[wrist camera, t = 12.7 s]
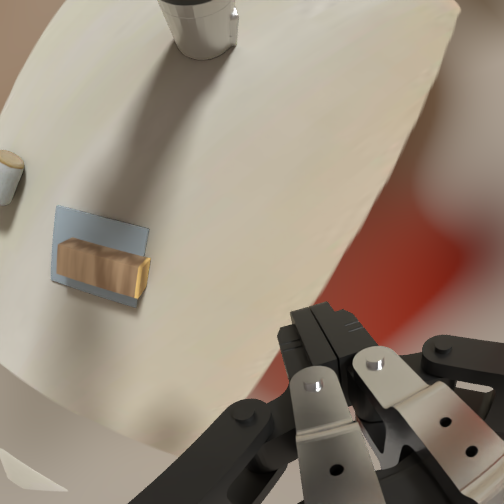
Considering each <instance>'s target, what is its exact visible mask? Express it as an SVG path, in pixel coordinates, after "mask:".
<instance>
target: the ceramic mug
mask: <svg viewBox="0 0 504 504" xmlns="http://www.w3.org/2000/svg"><path fill="white" fill-rule="evenodd" d="M23 170H24V162H23V160H22V159H21V158H20V157H19V156H17V155H16V154H14V153H12V152H10V151H6V150H0V205H1V206H4V205H8V204H10V203H11V201H12V198H13V195H14V193H15V190H16V188H17V185H18V182H19V180H20V178H21V175H22V173H23Z"/></svg>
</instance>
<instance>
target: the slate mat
mask: <svg viewBox="0 0 504 504" xmlns="http://www.w3.org/2000/svg"><path fill="white" fill-rule="evenodd" d="M148 233H149V229H148V228H144V227H140V226H136V225H132V224H129V223H125V222H121V221H117V220H113V219H109V218H105V217H101V216H98V215H94V214H90V213H86V212H82V211H78V210H74V209H71V208H67V207H63V206H59V205H57V206H56V213H55V221H54V231H53V244H52V262H51V280H53V281H55V282H58V283H61V284H64V285H67V286H69V287H72V288H75V289H78V290H81V291H84V292H87V293H90V294H93V295H96V296H99V297H102V298H105V299H108V300H112V301H115V302H118V303H121V304H125V305H128V306H131V307H135V308H136V307H137V301H138V299H137V298H133V297H130V296H126V295H123V294H119V293H116V292H112V291H109V290H106V289H102V288H99V287H96V286H93V285H89V284H86V283H83V282H80V281H77V280H74V279H71V278H68V277H65V276H62V275H59V274H56V269H57V247H58V244H59V243H61V242H63V241H65V240H68V239H70V238H72V237H73V238H77V239H80V240H84V241H87V242H91V243H95V244H98V245H102V246H106V247H109V248H113V249H117V250H120V251H124V252H128V253H132V254H136V255H139V256H143V257H144V255H145V249H146V244H147V239H148Z"/></svg>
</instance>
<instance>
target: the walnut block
mask: <svg viewBox="0 0 504 504" xmlns="http://www.w3.org/2000/svg"><path fill="white" fill-rule="evenodd" d="M150 260H151V258H147V257H143V256H139V255H136V254H132V253H128V252H124V251H120V250H117V249H113V248H109V247H106V246H102V245H98V244H95V243H91V242H87V241H84V240H80V239H77V238H73V237H72V238H70V239H68V240H65V241H63V242H61V243H59V244H58V247H57V269H56V274H59V275H62V276H65V277H68V278H71V279H74V280H77V281H80V282H83V283H86V284H89V285H93V286H96V287H99V288H102V289H106V290H109V291H112V292H116V293H119V294H123V295H126V296H130V297H133V298H137V299H138V298H139V297H140V295H141V294H142V292H143V291H144V289H145V288H146V285H147V279H148V272H149V266H150Z"/></svg>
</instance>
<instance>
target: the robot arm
mask: <svg viewBox="0 0 504 504" xmlns="http://www.w3.org/2000/svg"><path fill="white" fill-rule="evenodd" d="M158 3H159V5H160V7H161V10H162V12H163V14H164V17H165V19H166V21H167V24H168V26H169V28H170V31H171V33H172V35H173V37H174V40H175V43H176V45H177V47H178V49H179V50H180V51H181V53H183V54H184V55H185V56H187V57H189V58H192V59H196V60H207V59H211V58H215V57H217V56H219V55H221V54H222V53H224V52H225V51H226V50H227V49H228V48H229V47H231V46H235V45H237V35H238V20H239V16H238V13H237V10H236V7H235V0H158ZM290 316H291V320H292V325H288V326H284V327H281V328H280V330H279V333H278V335H277V338H278V341H279V345H280V349H281V353H282V357H283V361H284V365H285V369H286V372H287V375H288V379H289V385H288V388H287V389H286V391H285V392H284V393H283V394H282V395H281V396H280V397H278V398H276V399H275V400H273V401H271V402H269V403H267V404H266V403H265V402H263V401H261V400H258V399H244V400H240V401H237V402H235V403H233V404H232V405H230V406H229V407H228V408H227V409H226V410H225V411H224V412H223V413H222V414H221V415H220V416H219V417H218V418H217V419H216V420H215V421H214V422H213V423H212V424H211V425H210V427H209V428H208V429H207V430H206V431H205V432H204V433H203V434H202V435H201V436H200V437H199V438H198V439H197V440H196V441H195V442H194V443H193V444H192V445H191V446H190V447H189V448H188V449H187V450H186V451H185V452H184V453H183V454H182V455H181V456H180V457H179V458H178V459H177V460H176V461H175V462H174V463H172V464H171V465H170V466H169V467H168V468H167V469H166V470H165V471H164V472H163V473H162V474H161V475H160V476H158V477H157V478H156V479H155V480H154V481H153V482H152V483H151V484H150V485H149V486H147V487H146V488H145V489H144V490H143V491H142V492H141V493H139V494H138V495H137V496H136V497H135V498H134V499H132V500H131V501H130V502H129V503H128V504H261V503H262V501H263V500H264V499H265V497H266V496H267V495H268V493H269V492H270V491H271V489H272V488H273V487H274V485H275V484H276V483H277V481H278V480H279V478H280V477H281V476H282V474H283V473H284V471H285V470H286V468H287V465H288V463H290V462H292V461H294V460H296V459H297V458H298V459H299V467H300V474H301V482H302V489H303V496H304V500H303V501H301V502H299V503H298V504H504V343H498V342H490V341H484V340H477V339H470V338H463V337H457V336H450V335H438V336H434V337H432V338H430V339H428V340H427V341H426V342H425V343H424V345H423V348H422V352H420V353H415V354H409V355H397V354H396V353H395V352H394V351H393V350H392V349H390V348H387V347H383V346H378V344H377V343H376V342H375V341H374V339H373V338H372V337H371V336H370V334H369V333H368V332H367V331H366V329H365V328H363V326H362V324H361V323H360V322H358V320H357V318H356V317H355V316H354V315H353V314H352V313H350V312H348V311H345V310H344V309H342V310H339V311H336V312H335V311H334V310H333V309H332V307H331V306H330V305H329V303H328V302H323V303H320V304H316V305H313V306H309V308H308V307H306V308H303V309H299V310H296V311H292V312H290ZM457 381H463V382H468V383H473V384H479V385H485V386H490V387H492V388H493V390H492V391H490V392H487V393H484V392H478V391H473V390H467V389H462V388H457V387H456V383H457ZM349 406H353V408H354V410H355V420H356V421H353V419H352V417H351V414H350V411H349V408H348V407H349ZM362 433H363V435H364V436H365V438H366V440H367V442H368V443H369V445H370V446H371V448H372V450H373V451H374V453H375V455H376V456H377V458H378V460H379V462H380V466H381V470H377V471H375V469H374V466H373V464H372V460H371V458H370V455H369V452H368V449H367V446H366V443H365V440H364V438H363V435H362Z"/></svg>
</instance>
